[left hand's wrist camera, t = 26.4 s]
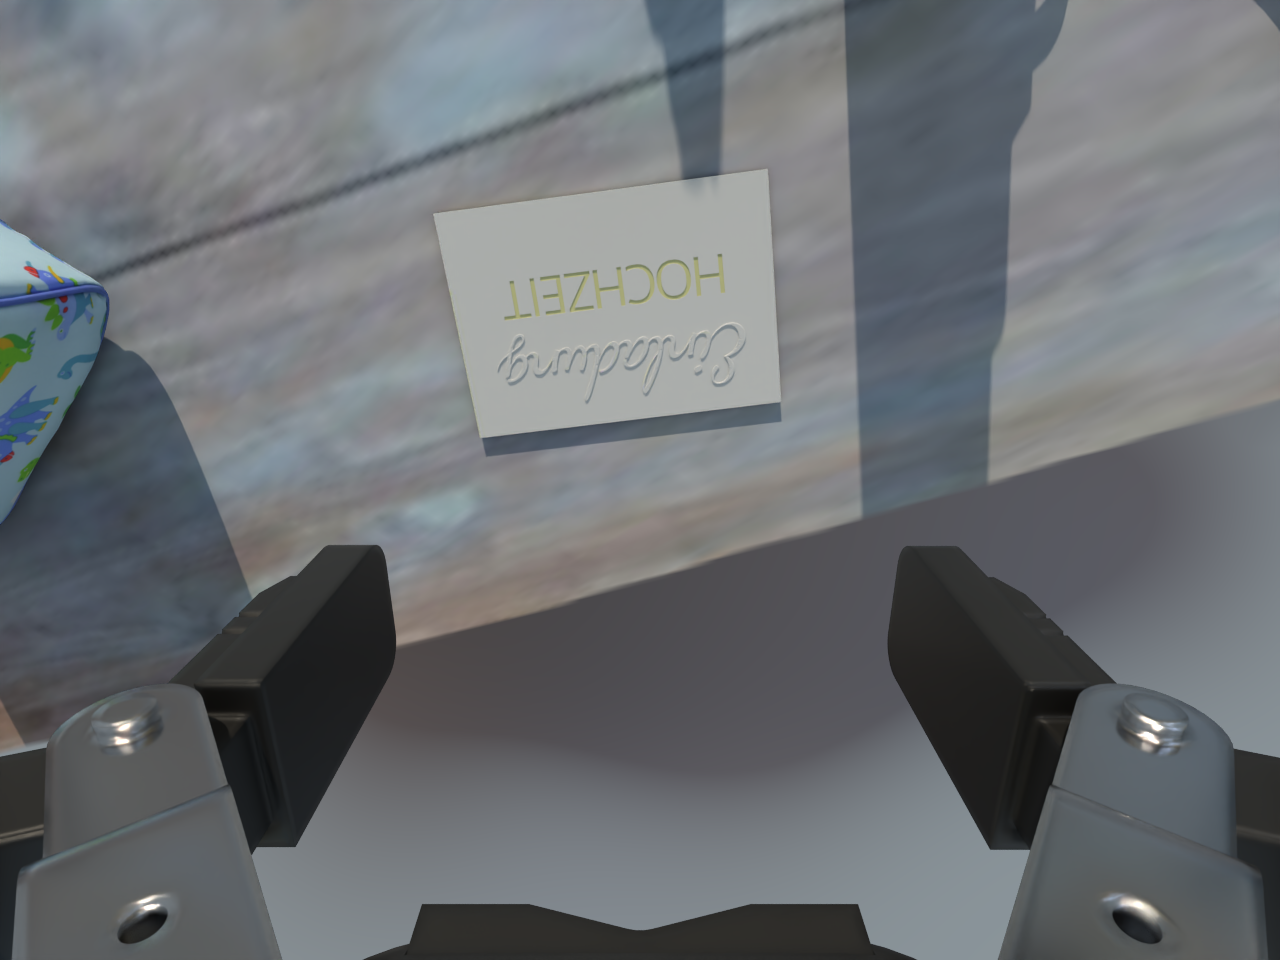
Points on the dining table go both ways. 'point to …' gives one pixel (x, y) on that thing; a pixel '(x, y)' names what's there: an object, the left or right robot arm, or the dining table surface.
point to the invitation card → (615, 303)
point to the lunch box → (40, 352)
